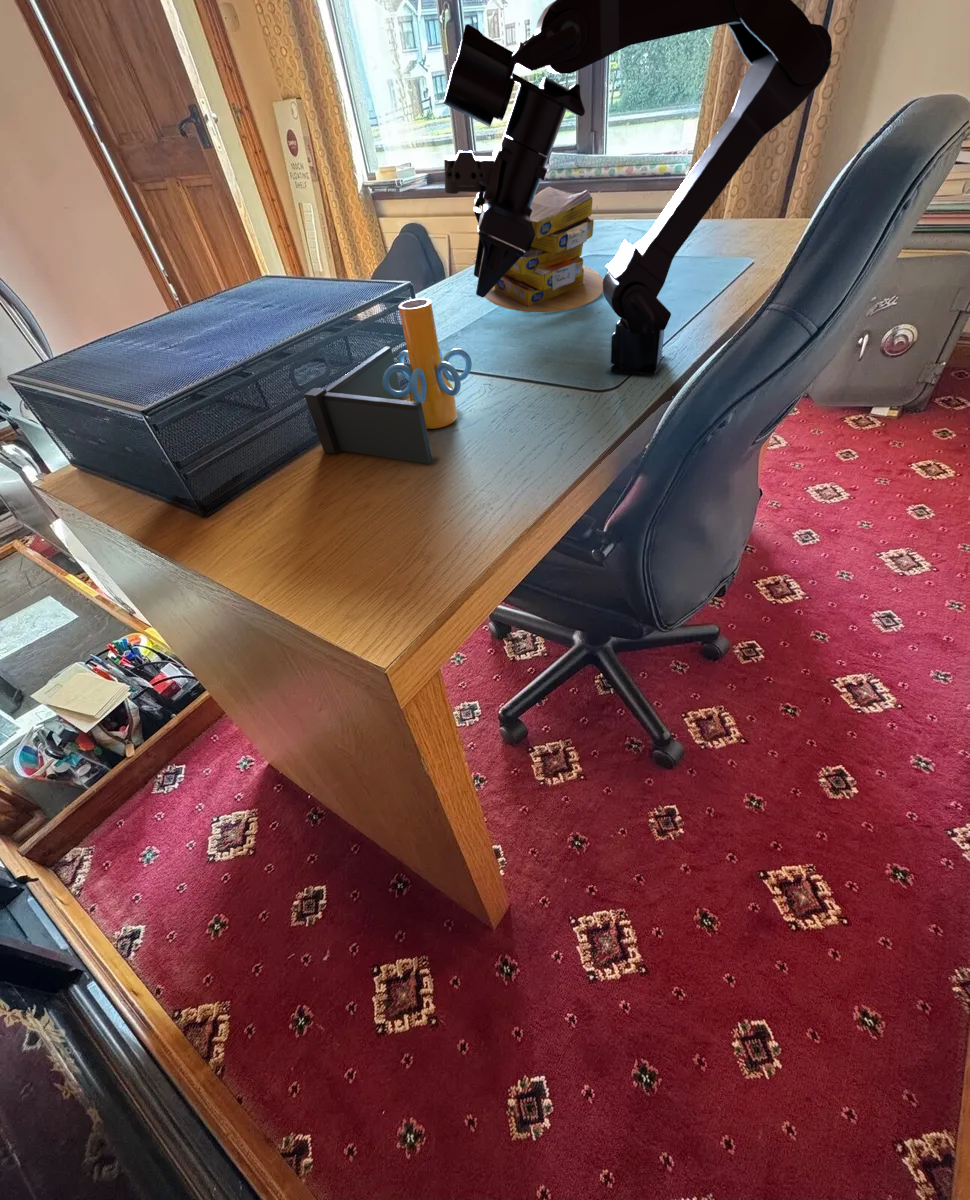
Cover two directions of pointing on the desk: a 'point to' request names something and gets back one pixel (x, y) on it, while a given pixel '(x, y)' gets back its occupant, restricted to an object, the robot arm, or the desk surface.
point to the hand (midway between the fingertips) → (478, 285)
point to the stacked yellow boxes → (552, 258)
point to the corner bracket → (369, 414)
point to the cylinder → (427, 366)
